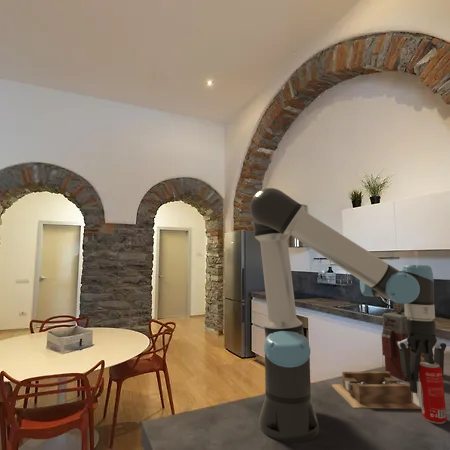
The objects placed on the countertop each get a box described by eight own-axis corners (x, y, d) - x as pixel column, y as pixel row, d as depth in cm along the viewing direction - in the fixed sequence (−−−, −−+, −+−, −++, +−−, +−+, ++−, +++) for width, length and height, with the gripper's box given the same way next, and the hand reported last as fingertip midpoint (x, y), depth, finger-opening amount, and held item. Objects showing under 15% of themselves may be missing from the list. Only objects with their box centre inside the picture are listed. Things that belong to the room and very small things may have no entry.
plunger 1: (348, 391, 104) (348, 383, 104) (345, 388, 106) (345, 380, 107) (369, 390, 104) (369, 383, 105) (366, 388, 107) (365, 380, 107)
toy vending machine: (380, 373, 128) (377, 301, 131) (401, 370, 132) (397, 300, 135) (399, 381, 120) (395, 304, 123) (421, 377, 124) (417, 302, 127)
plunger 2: (384, 390, 104) (383, 382, 105) (380, 387, 107) (380, 380, 107) (405, 390, 105) (404, 382, 105) (400, 387, 107) (400, 380, 107)
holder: (353, 411, 96) (352, 389, 97) (331, 387, 114) (331, 369, 115) (426, 410, 97) (425, 388, 97) (393, 387, 114) (392, 369, 115)
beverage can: (450, 420, 89) (446, 363, 91) (441, 427, 85) (437, 368, 87) (426, 412, 94) (423, 358, 96) (416, 418, 90) (414, 362, 92)
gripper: (399, 320, 90) (403, 410, 87) (456, 321, 90) (462, 410, 88) (385, 316, 97) (388, 398, 95) (438, 316, 97) (442, 399, 95)
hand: (423, 404), depth 91 cm, fingers closed on beverage can, 3 cm apart
